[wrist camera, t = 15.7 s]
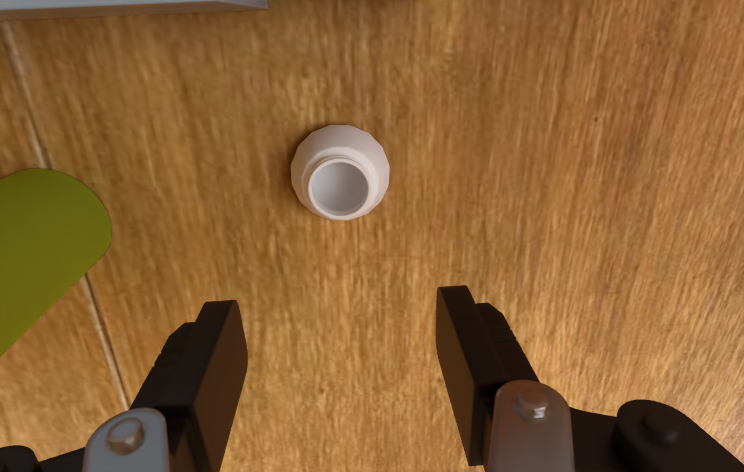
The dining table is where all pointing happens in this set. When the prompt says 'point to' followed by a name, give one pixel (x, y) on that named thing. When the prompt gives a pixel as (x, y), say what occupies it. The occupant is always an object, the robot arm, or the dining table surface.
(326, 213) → the white jar
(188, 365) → the robot arm
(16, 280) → the soap dispenser
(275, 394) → the dining table surface
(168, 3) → the drawer unit
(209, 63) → the dining table surface
